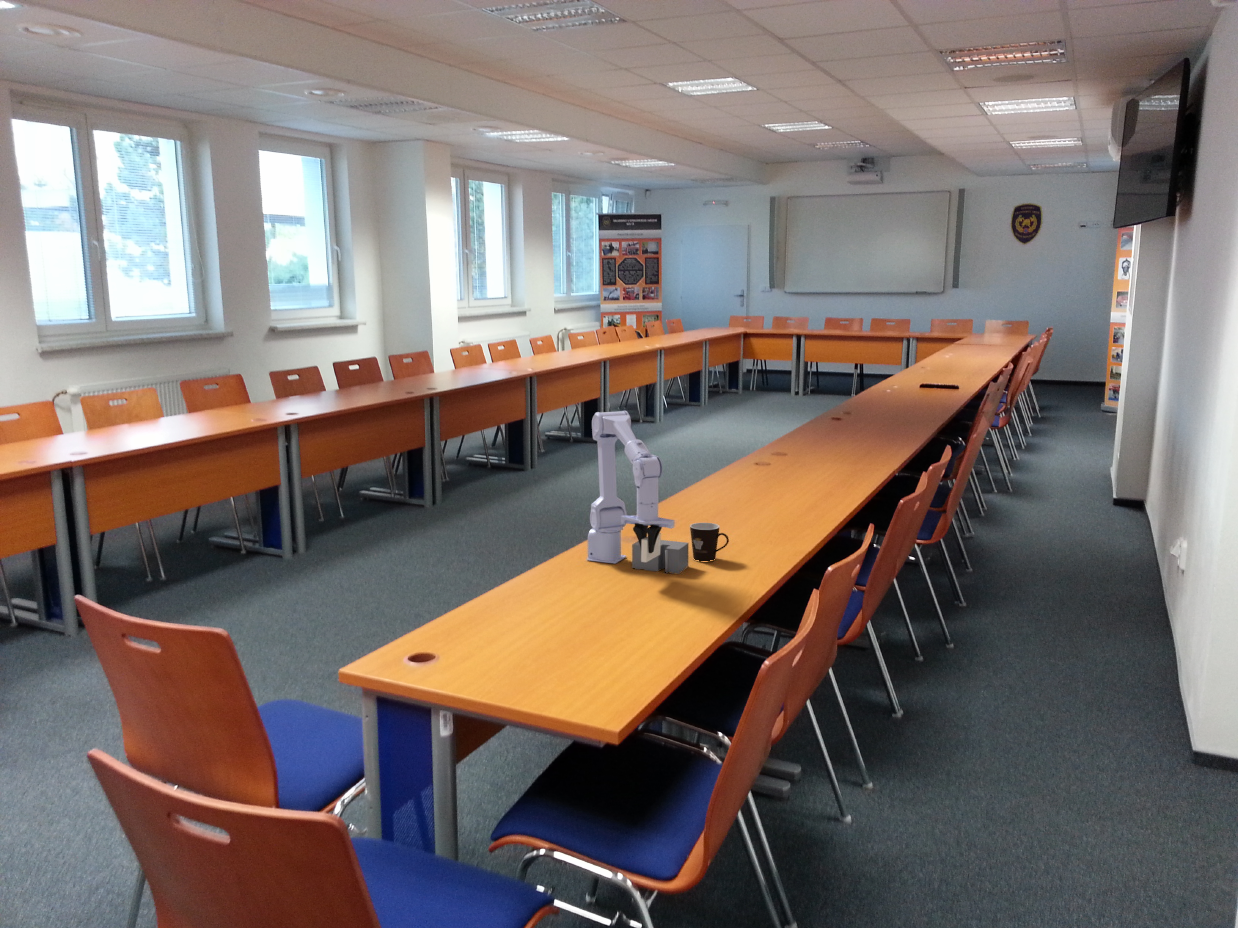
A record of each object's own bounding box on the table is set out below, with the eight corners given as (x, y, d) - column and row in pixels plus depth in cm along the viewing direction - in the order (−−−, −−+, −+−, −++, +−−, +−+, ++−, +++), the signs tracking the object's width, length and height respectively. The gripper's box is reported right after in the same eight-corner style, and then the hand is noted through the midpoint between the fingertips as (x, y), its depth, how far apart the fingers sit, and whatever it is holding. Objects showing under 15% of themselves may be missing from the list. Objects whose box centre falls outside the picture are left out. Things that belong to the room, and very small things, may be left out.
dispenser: (631, 569, 263) (631, 545, 262) (642, 561, 271) (642, 537, 270) (677, 574, 257) (678, 550, 256) (688, 566, 265) (688, 542, 264)
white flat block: (641, 561, 246) (641, 539, 245) (655, 553, 255) (655, 532, 254) (646, 562, 246) (646, 540, 245) (660, 554, 255) (660, 532, 254)
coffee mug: (684, 557, 274) (684, 524, 273) (708, 553, 278) (709, 521, 276) (705, 567, 264) (705, 533, 262) (730, 563, 268) (731, 529, 266)
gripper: (616, 502, 245) (616, 552, 247) (667, 507, 239) (667, 558, 241) (626, 497, 251) (627, 546, 253) (677, 502, 245) (677, 551, 248)
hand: (647, 551), depth 248 cm, fingers closed on white flat block, 1 cm apart
